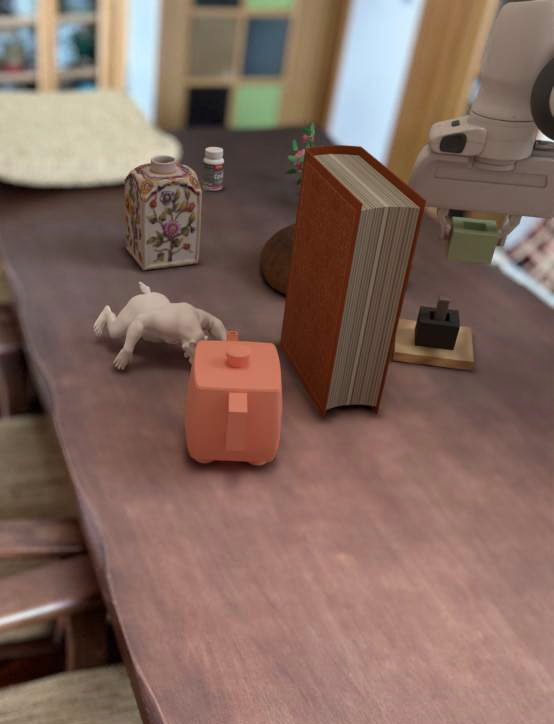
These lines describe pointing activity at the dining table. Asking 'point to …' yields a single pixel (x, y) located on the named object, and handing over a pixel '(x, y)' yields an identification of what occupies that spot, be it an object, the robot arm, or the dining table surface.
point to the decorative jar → (163, 214)
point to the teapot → (234, 401)
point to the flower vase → (299, 157)
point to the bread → (279, 258)
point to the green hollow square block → (472, 240)
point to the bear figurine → (158, 324)
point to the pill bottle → (213, 168)
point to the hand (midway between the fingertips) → (470, 241)
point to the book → (348, 274)
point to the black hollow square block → (436, 329)
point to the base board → (428, 355)
